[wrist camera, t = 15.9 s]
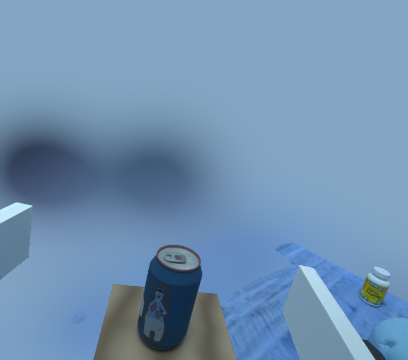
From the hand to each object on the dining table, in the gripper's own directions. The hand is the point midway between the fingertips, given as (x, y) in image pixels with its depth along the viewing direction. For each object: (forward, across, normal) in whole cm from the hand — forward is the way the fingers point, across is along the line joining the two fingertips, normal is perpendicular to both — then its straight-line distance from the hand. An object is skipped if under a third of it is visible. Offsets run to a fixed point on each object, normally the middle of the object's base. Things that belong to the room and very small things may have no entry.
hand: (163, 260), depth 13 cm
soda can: (+19, +1, -23) cm, 30 cm away
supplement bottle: (+53, +56, -32) cm, 84 cm away
